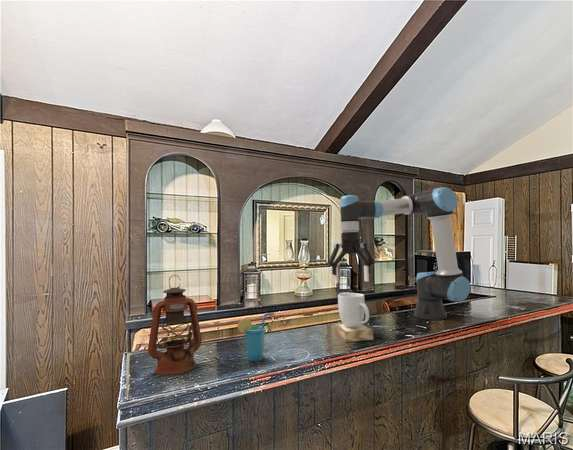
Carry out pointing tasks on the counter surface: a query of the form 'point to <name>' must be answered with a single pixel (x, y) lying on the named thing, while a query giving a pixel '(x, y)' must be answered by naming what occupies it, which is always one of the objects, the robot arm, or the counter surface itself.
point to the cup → (253, 337)
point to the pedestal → (354, 333)
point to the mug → (352, 309)
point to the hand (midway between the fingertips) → (351, 282)
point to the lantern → (176, 355)
